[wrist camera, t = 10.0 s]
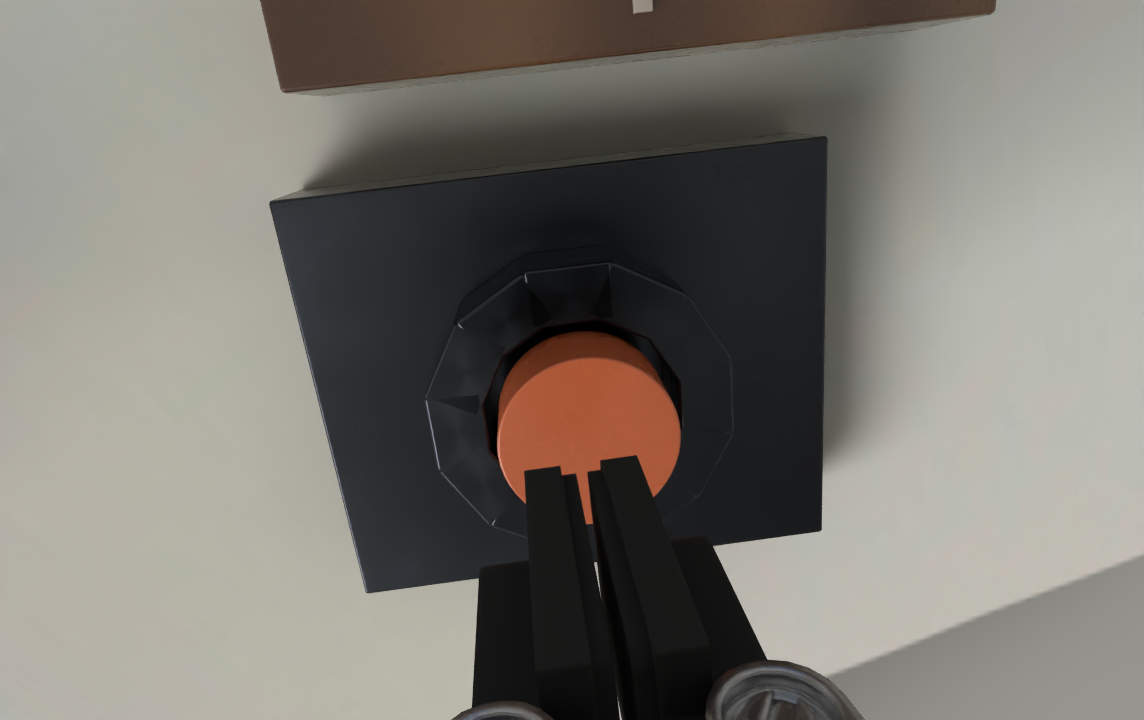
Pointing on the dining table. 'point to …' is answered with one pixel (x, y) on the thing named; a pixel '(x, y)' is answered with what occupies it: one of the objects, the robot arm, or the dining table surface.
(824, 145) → the black button base
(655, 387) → the push knob
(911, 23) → the dial panel
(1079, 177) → the dining table surface
